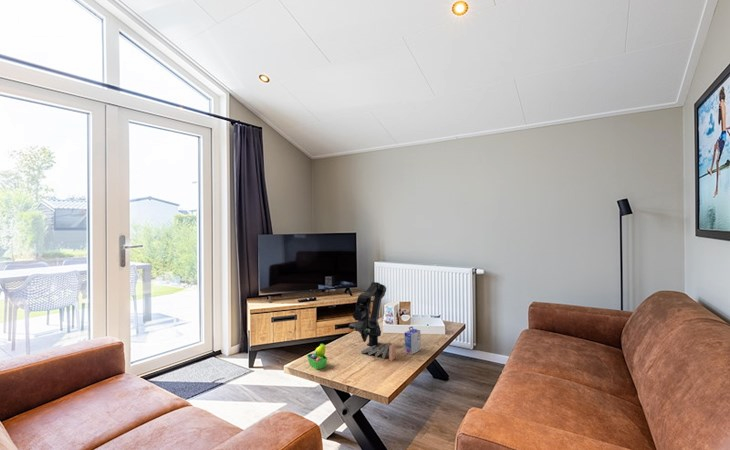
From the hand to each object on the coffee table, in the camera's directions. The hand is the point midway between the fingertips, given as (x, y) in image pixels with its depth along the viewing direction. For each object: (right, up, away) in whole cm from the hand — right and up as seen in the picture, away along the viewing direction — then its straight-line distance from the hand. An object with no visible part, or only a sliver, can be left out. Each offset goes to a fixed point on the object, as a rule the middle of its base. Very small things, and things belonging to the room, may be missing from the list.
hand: (364, 341), depth 204 cm
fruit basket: (-26, -7, -18) cm, 32 cm away
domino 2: (+4, -6, -2) cm, 7 cm away
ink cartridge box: (+29, -7, +2) cm, 30 cm away
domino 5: (+16, -7, -9) cm, 20 cm away
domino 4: (+12, -6, -7) cm, 15 cm away
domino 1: (-1, -6, 0) cm, 6 cm away
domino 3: (+8, -6, -4) cm, 11 cm away
